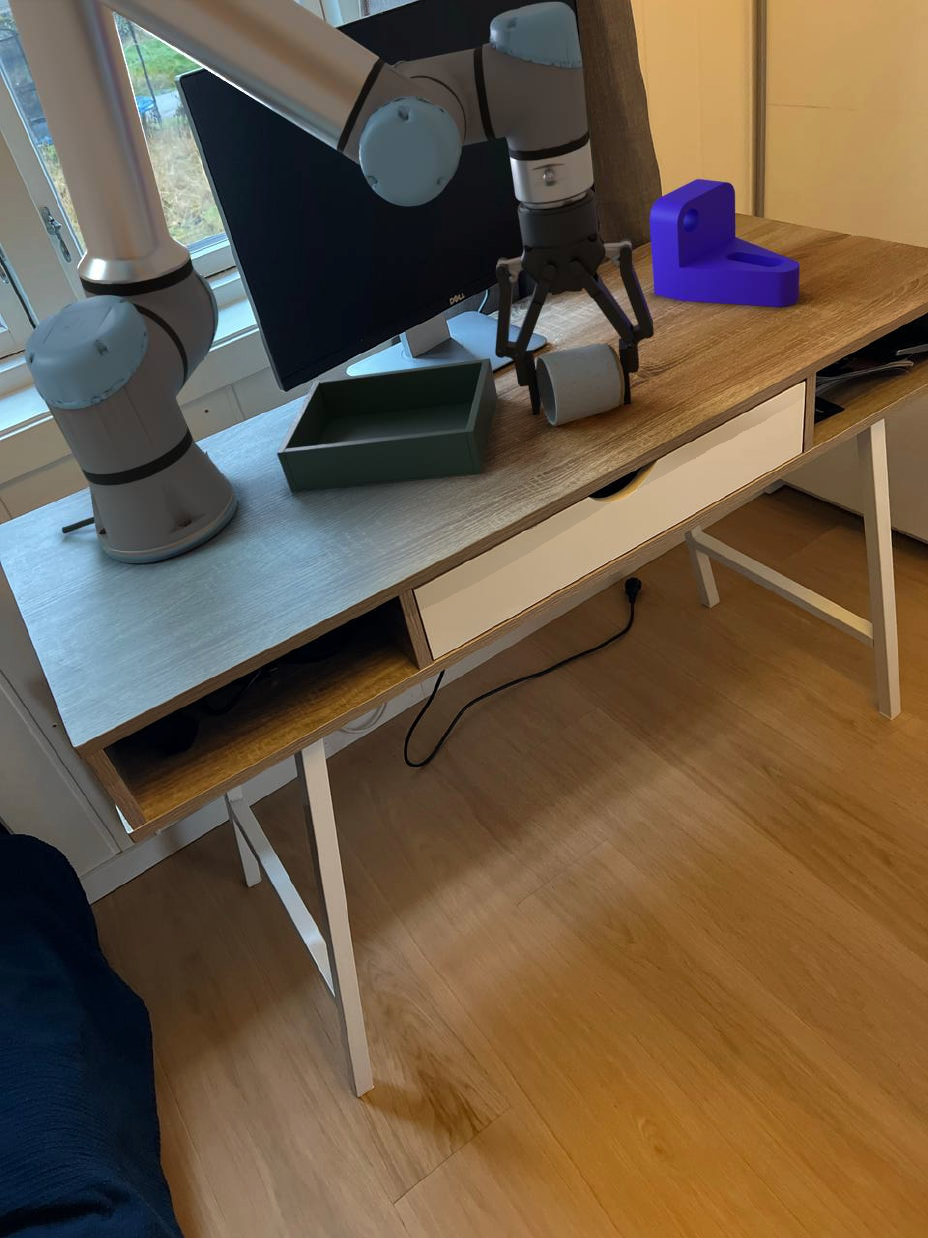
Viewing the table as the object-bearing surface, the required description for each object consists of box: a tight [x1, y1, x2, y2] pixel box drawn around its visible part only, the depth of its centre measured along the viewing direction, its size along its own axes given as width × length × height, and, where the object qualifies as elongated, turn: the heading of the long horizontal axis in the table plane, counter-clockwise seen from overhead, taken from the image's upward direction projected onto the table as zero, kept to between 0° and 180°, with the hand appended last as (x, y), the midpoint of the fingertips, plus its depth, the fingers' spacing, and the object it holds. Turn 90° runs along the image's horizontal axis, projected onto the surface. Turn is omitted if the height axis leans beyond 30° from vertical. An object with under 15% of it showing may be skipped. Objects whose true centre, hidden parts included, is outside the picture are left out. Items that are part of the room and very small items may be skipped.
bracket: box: [649, 178, 801, 308], centre depth 116 cm, size 18×11×12 cm, turn 38°
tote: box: [276, 357, 498, 493], centre depth 105 cm, size 22×17×5 cm
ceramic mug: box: [535, 343, 625, 427], centre depth 102 cm, size 11×8×8 cm
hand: (581, 404), depth 103 cm, fingers closed on ceramic mug, 9 cm apart
